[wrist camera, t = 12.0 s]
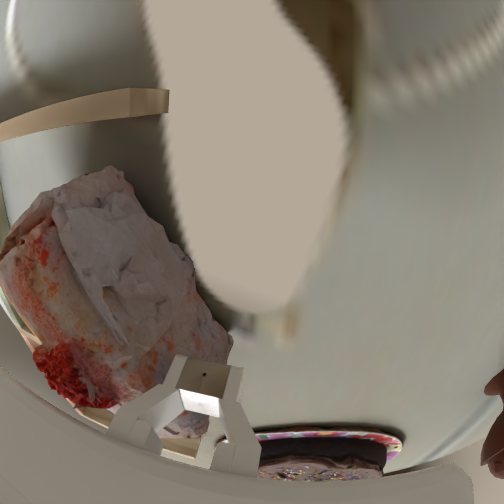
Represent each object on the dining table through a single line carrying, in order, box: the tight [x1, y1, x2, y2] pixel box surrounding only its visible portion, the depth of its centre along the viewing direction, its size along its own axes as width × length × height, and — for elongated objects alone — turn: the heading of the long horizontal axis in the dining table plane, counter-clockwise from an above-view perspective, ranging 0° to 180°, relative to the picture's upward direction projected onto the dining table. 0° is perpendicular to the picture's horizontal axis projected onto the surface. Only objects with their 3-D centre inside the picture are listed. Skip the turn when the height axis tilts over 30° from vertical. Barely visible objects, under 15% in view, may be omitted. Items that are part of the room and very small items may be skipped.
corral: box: [0, 88, 201, 459], centre depth 20 cm, size 40×19×4 cm, turn 175°
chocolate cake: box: [214, 426, 403, 482], centre depth 28 cm, size 28×28×7 cm
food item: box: [0, 165, 234, 439], centre depth 12 cm, size 14×8×10 cm, turn 28°
